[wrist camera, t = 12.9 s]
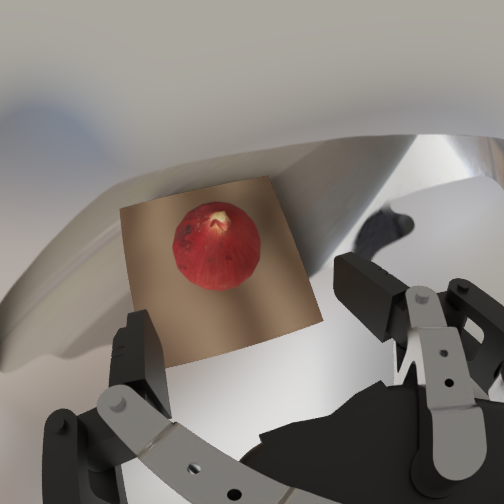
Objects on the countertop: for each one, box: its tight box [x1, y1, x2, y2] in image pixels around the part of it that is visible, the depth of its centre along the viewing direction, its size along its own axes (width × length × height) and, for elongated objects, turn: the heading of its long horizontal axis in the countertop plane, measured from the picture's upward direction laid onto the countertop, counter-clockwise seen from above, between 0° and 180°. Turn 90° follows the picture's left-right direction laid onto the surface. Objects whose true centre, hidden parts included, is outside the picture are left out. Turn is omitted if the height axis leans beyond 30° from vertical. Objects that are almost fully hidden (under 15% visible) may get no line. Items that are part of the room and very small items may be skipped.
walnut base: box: [120, 176, 323, 368], centre depth 24 cm, size 14×14×5 cm
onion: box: [172, 201, 261, 291], centre depth 18 cm, size 6×6×8 cm
